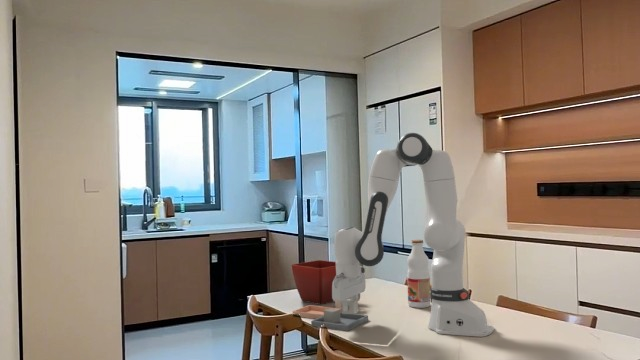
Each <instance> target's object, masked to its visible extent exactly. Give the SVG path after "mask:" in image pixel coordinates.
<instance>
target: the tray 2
mask: <svg viewBox="0 0 640 360" xmlns="http://www.w3.org/2000/svg"><path fill="white" fill-rule="evenodd" d="M340 319H341V322H338V323H327V322H324V316H322V317H319V318H317V319H313V320H311V327H317V328H322V327H321V325H323V324H324V325H325V326H326V327H327V328H326V329H329V330H330V329H331V330H338V331H345V332H348V331H350V330H353V329H354V328H356V327H359V326H360V325H362V324H364V323H366V322H368V321H369V315H366V314H358V313H355V314H343V312H340Z"/></svg>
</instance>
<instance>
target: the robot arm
mask: <svg viewBox="0 0 640 360" xmlns="http://www.w3.org/2000/svg"><path fill="white" fill-rule="evenodd" d="M414 166H418V167H420V169H421V171H422V175H423V176H422V177H423V185H424V186H423V187H424V195H425V197H424V198H425V224H424V225H425V228H424V234H423V239H424V242H425V244H426V245H427V247H429V248H430V249H432V250H433V255H432V260H431V265H430V306H431V307H430V316H429V321H428V324H427V326H428V329H430V330H432V331H434V332H436V333H437V334H440V335H442V334H443V335H449V336H451V335H452V336H453V335H454V336H463V337H464V336H466V337H477V338H478V337H486V336H489V335H491V334H492V333H493V332H494V331H495V329H494V326H493V324H490V323H488V320H487V316H486V313H485V311H484V310H483V309H482V308H481V307H479V306H478V305H477V304H475V302H473V301H472V300H471V299H470V290H467V289H466V288H464V277H463V275H464V274H463V273H464V272H463V271H464V270H463V264H464V255H465V254H464V252H465V241H466V240H465V239H466V237H465V236H466V228H465V226H464V225H463V223H462V222H461V221H460V220H458V219H457V206H458V193H457V186H456V179H455V178H456V177H455V171H454V167H453V162H452V159H451V156H450V155H449V153H448V152H447V151H444V150H441V149H436V150H435V149H433V148H432V146H431V145H430V144H429V142H428V141H427V140H426V139H425V137H424V136H423V135H421V134H419V133H417V132H409V133H406V134H404V135H402V136H401V138H400V139H399V140H398V142H397V146H396V147H395V148H393V149H389V148H383V149H381V150H378V151H377V152H376V154H375V156H374V159H373V161H372V163H371V166H370V171H369V175H368V180H367V201H368V202H367V203H368V205H367V207H368V208H367V209H368V210H367V216H366V221H365V227H364V231H362V230H359V229H357V228H356V227H354V226H348V227H344V228H340V229H339V230H337V231H336V232H335V235H334V242H333V243H334V254H335V258H336V259H335V262H336V276H335V279H334V280H333V283H332V299H333V300H334V301H333V302H335V301H341V303H342V305H343V310H344V311H348V310H349V305H348V304H347V301H348V298H350V297H352V299H358V294H359V293H360V294H361V293H364V292H366V275H365V273H366V267H374V266H377V265H378V264H379V263H380V262H381V261H382V260H383V258H384V254H385V252H384V244H383V241H382V240H383V239H382V238H383V237H382V236H383V230H384V225H385V221H386V220H385V219H386V215H387V212H388V210H389V209H390V206H391V204H392V202H393V200H394V199H395V195H396V193H397V189H398V187H399V186H398V185H399V180H400V176H401V171H402V170H403V168H404V167H414ZM360 264H361V265H360ZM365 266H366V267H365Z"/></svg>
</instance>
